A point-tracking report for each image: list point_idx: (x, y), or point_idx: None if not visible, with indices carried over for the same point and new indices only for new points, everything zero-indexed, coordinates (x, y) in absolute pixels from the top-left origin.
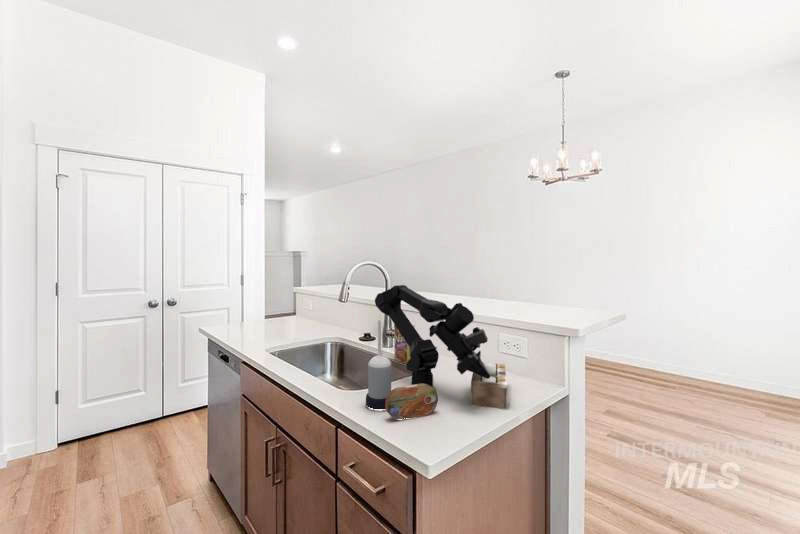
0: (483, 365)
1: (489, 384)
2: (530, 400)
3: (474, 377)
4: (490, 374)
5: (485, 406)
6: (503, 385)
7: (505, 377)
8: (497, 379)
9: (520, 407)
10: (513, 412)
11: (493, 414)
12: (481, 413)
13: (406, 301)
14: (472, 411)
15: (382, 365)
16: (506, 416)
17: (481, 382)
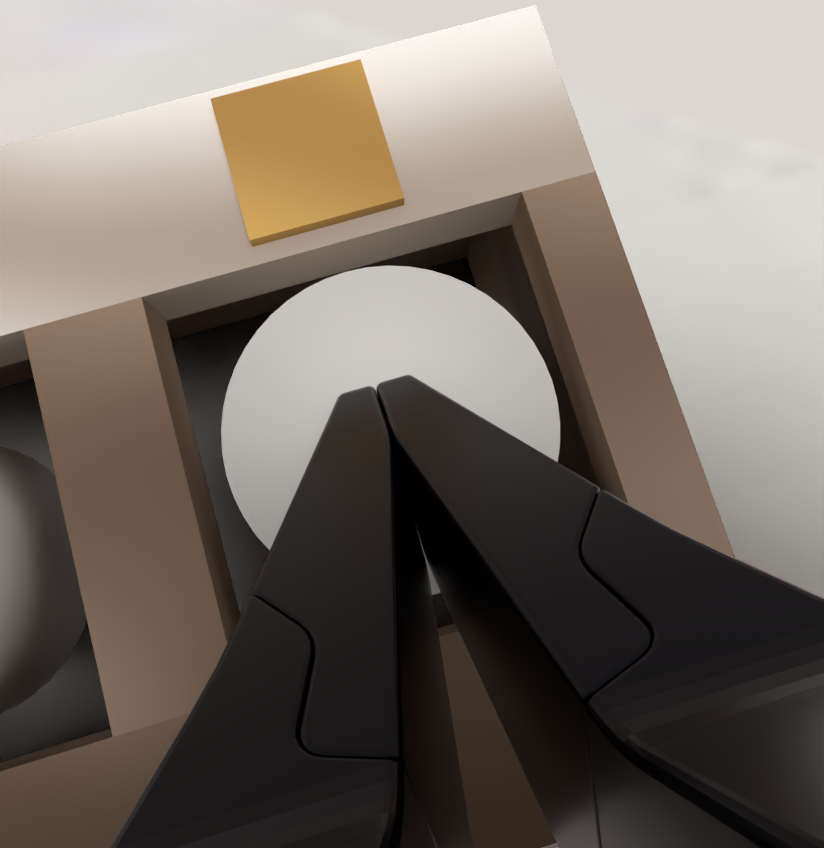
0: (401, 580)
1: (648, 341)
2: (51, 40)
3: (470, 794)
4: (14, 508)
5: None
6: (549, 77)
7: (77, 141)
8: (160, 316)
9: None
10: None
11: (733, 313)
12: (795, 450)
13: None
14: (809, 573)
15: None
16: (695, 169)
17: (715, 509)
